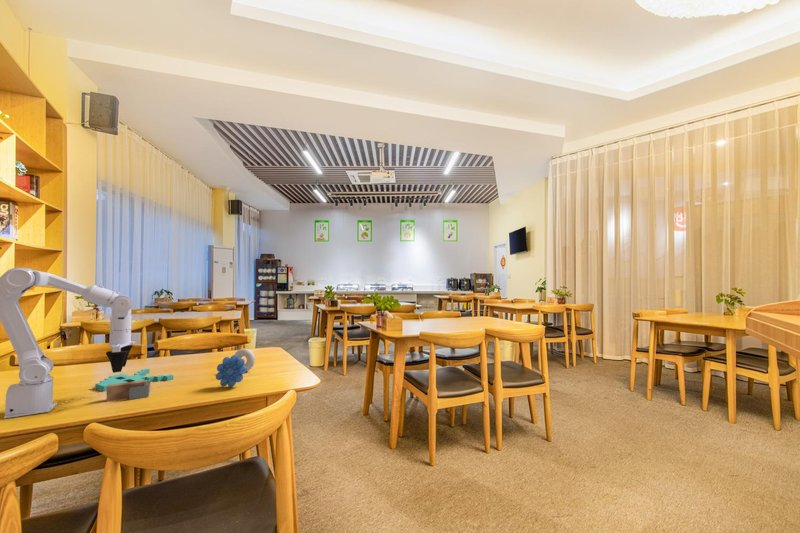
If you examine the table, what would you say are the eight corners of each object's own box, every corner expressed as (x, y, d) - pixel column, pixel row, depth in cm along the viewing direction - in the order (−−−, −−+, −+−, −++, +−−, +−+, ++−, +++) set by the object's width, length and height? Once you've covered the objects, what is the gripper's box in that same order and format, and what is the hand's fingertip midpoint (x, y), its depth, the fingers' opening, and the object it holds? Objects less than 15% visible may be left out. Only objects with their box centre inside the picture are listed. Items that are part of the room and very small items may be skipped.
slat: (106, 402, 112) (106, 386, 112) (107, 399, 114) (108, 384, 114) (144, 396, 117) (144, 381, 117) (144, 394, 119) (145, 380, 119)
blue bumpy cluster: (251, 383, 132) (252, 352, 132) (242, 389, 125) (243, 356, 125) (222, 382, 132) (223, 352, 133) (212, 388, 125) (212, 356, 126)
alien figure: (146, 373, 146) (86, 386, 128) (146, 368, 146) (87, 380, 128) (173, 380, 136) (112, 395, 119) (173, 374, 136) (113, 389, 119)
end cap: (129, 399, 114) (129, 387, 114) (131, 394, 119) (132, 382, 119) (148, 396, 116) (148, 385, 117) (150, 391, 122) (150, 380, 122)
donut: (256, 370, 149) (257, 348, 150) (251, 373, 146) (252, 349, 146) (236, 369, 151) (236, 347, 151) (231, 371, 148) (231, 348, 148)
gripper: (132, 331, 113) (130, 372, 113) (138, 326, 125) (136, 363, 125) (104, 333, 109) (102, 375, 109) (113, 327, 122) (112, 365, 121)
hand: (119, 369), depth 117 cm, fingers open, 7 cm apart
